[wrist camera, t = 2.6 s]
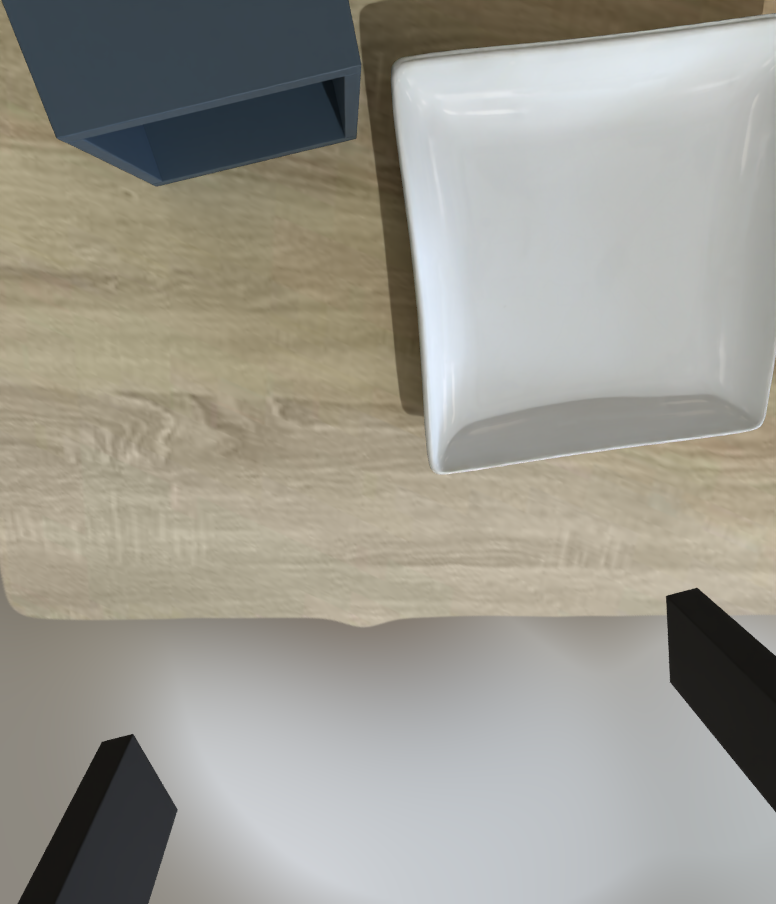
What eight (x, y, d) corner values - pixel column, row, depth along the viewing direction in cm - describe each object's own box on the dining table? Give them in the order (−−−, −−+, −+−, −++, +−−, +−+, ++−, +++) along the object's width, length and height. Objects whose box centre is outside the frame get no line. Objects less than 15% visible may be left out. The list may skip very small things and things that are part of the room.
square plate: (781, 32, 33) (836, 1, 29) (731, 419, 42) (768, 432, 38) (384, 77, 32) (389, 51, 28) (423, 462, 41) (430, 480, 38)
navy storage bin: (358, 138, 33) (363, 65, 22) (154, 187, 33) (53, 139, 22) (323, -28, 30) (308, -215, 19) (97, 25, 30) (-54, -128, 19)
